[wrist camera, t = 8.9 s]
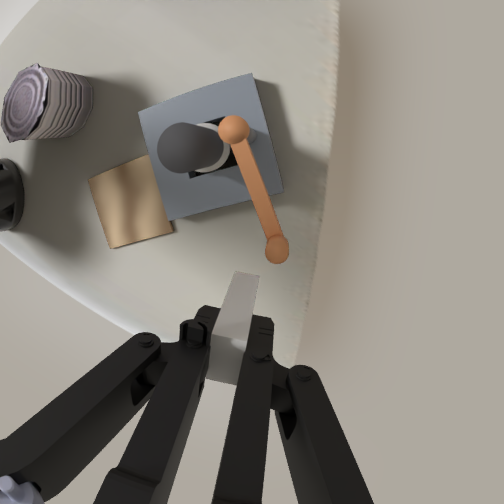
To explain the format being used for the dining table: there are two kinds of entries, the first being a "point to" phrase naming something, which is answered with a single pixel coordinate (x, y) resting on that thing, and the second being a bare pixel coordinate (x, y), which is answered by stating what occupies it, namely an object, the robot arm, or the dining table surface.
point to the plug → (192, 148)
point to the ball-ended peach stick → (255, 186)
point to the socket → (210, 111)
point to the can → (45, 104)
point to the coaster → (129, 203)
